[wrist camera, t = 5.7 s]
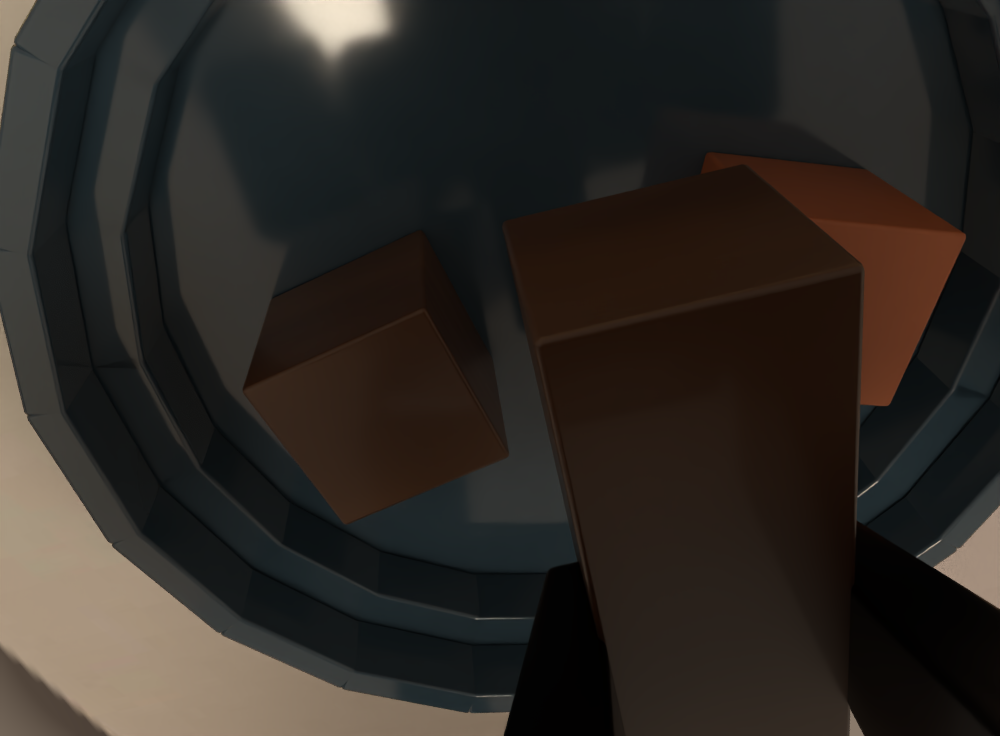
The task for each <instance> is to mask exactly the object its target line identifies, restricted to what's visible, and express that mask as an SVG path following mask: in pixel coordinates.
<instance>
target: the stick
mask: <svg viewBox="0 0 1000 736" xmlns="http://www.w3.org/2000/svg"><path fill="white" fill-rule="evenodd" d="M502 230H503V234H504V239H505V243H506V248H507V252H508V257H509V261H510V265H511V270H512V274H513V279H514V283H515V288H516V292H517V297H518V301H519V305H520V310H521V314H522V319H523V323H524V328H525V332H526V336H527V341H528V345H529V350H530V354H531V359H532V363H533V368H534V372H535V376H536V381H537V385H538V390H539V394H540V399H541V403H542V407H543V412H544V416H545V421H546V425H547V430H548V434H549V439H550V443H551V447H552V452H553V456H554V461H555V465H556V470H557V474H558V478H559V483H560V487H561V492H562V496H563V501H564V505H565V509H566V514H567V518H568V523H569V527H570V532H571V536H572V541H573V545H574V549H575V554H576V558H577V561H579V564H580V568H581V572H582V576H583V580H584V584H585V588H586V592H587V596H588V600H589V604H590V608H591V612H592V616H593V620H594V623H595V627H596V631H597V635H598V638H599V639H600V640H601V641H603V642H604V643H605V644H606V647H607V651H608V656H609V661H610V665H611V670H612V675H613V679H614V684H615V689H616V693H617V698H618V703H619V707H620V712H621V717H622V721H623V726H624V731H625V735H626V736H849V731H850V730H849V729H850V707H849V704H848V702H847V700H848V667H849V633H850V600H851V588H852V586H853V585H854V580H855V550H856V520H857V490H858V460H859V430H860V400H861V370H862V340H863V309H864V279H865V270H864V267H863V265H862V263H860V262H859V261H858V260H857V259H856V258H855V257H853V256H852V255H851V254H850V253H849V252H848V251H847V250H845V249H844V248H843V247H842V246H841V245H840V244H838V243H837V242H836V241H835V240H834V239H833V238H831V237H830V236H829V235H828V234H827V233H826V232H824V231H823V230H822V229H821V228H820V227H819V226H817V225H816V224H815V223H814V222H813V221H812V220H811V219H809V218H808V217H807V216H806V215H805V214H804V213H802V212H801V211H800V210H799V209H798V208H797V207H795V206H794V205H793V204H792V203H791V202H790V201H788V200H787V199H786V198H785V197H784V196H783V195H781V194H780V193H779V192H778V191H777V190H776V189H775V188H773V187H772V186H771V185H770V184H769V183H768V182H766V181H765V180H764V179H763V178H762V177H761V176H759V175H758V174H757V173H756V172H755V171H754V170H752V169H751V168H750V167H749V166H748V165H745V164H741V165H736V166H732V167H728V168H724V169H720V170H716V171H711V172H707V173H703V174H699V175H695V176H690V177H686V178H682V179H678V180H674V181H669V182H665V183H661V184H657V185H653V186H648V187H644V188H640V189H636V190H632V191H628V192H623V193H619V194H615V195H611V196H607V197H602V198H598V199H594V200H590V201H586V202H581V203H577V204H573V205H569V206H565V207H561V208H556V209H552V210H548V211H544V212H540V213H535V214H531V215H527V216H523V217H519V218H514V219H510V220H507V221H505V222H503V225H502Z"/></svg>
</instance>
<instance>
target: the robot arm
mask: <svg viewBox="0 0 1000 736" xmlns="http://www.w3.org/2000/svg"><path fill="white" fill-rule="evenodd" d="M847 702H848V704H849V707H850V709H851V711H852V713H853V715H854V717H855V719H856V721H857V723H858V725H859V727H860V729H861V730H862V732H863V734H864V736H1000V609H999V608H997V607H996V606H994V605H992V604H991V603H989V602H988V601H986V600H984V599H983V598H981V597H979V596H978V595H976V594H975V593H973V592H971V591H970V590H968V589H967V588H965V587H963V586H962V585H960V584H959V583H957V582H955V581H954V580H952V579H951V578H949V577H947V576H946V575H944V574H942V573H941V572H939V571H938V570H936V569H934V568H933V567H931V566H930V565H928V564H926V563H925V562H923V561H922V560H920V559H918V558H917V557H915V556H913V555H912V554H910V553H909V552H907V551H905V550H904V549H902V548H901V547H899V546H897V545H896V544H894V543H893V542H891V541H889V540H888V539H886V538H885V537H883V536H881V535H880V534H878V533H876V532H875V531H873V530H872V529H870V528H868V527H867V526H865V525H864V524H862V523H860V522H859V521H857V520H856V550H855V580H854V585H853V586H852V588H851V600H850V633H849V667H848V700H847ZM504 736H626V735H625V731H624V726H623V721H622V717H621V712H620V707H619V703H618V698H617V693H616V689H615V684H614V679H613V675H612V670H611V665H610V661H609V656H608V651H607V647H606V644H605V643H604V642H603V641H601V640H600V639H599V638H598V635H597V631H596V627H595V623H594V620H593V616H592V612H591V608H590V604H589V600H588V596H587V592H586V588H585V584H584V580H583V576H582V572H581V568H580V564H579V561H577V562H572V563H568V564H563V565H559V566H555V567H551V568H550V569H549V570H548V571H547V573H546V576H545V580H544V583H543V587H542V591H541V595H540V599H539V603H538V606H537V610H536V614H535V618H534V622H533V626H532V629H531V633H530V637H529V641H528V645H527V649H526V652H525V656H524V660H523V664H522V668H521V672H520V675H519V679H518V683H517V687H516V691H515V695H514V698H513V702H512V706H511V710H510V714H509V718H508V721H507V725H506V729H505V733H504Z"/></svg>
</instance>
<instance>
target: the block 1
mask: <svg viewBox="0 0 1000 736" xmlns="http://www.w3.org/2000/svg"><path fill="white" fill-rule="evenodd" d="M242 390H243V394H244V395H245V396H246V398H247V399H248V400H249V402H250V403H251V404H252V405H253V407H254V408H255V409H256V411H257V412H258V413H259V415H260V416H261V417H262V418H263V420H264V421H265V422H266V424H267V425H268V426H269V428H270V429H271V430H272V431H273V433H274V434H275V435H276V437H277V438H278V439H279V441H280V442H281V443H282V444H283V446H284V447H285V448H286V450H287V451H288V452H289V454H290V455H291V456H292V457H293V459H294V460H295V461H296V463H297V464H298V465H299V467H300V468H301V469H302V470H303V472H304V473H305V474H306V476H307V477H308V478H309V480H310V481H311V482H312V483H313V485H314V486H315V487H316V489H317V490H318V491H319V493H320V494H321V495H322V496H323V498H324V499H325V500H326V502H327V503H328V504H329V505H330V507H331V508H332V509H333V511H334V512H335V513H336V515H337V516H338V517H339V518H340V520H341V521H342V522H343V524H350V523H352V522H354V521H357V520H359V519H362V518H364V517H366V516H369V515H371V514H374V513H376V512H378V511H381V510H383V509H386V508H388V507H390V506H393V505H395V504H398V503H400V502H402V501H405V500H407V499H410V498H412V497H414V496H417V495H419V494H422V493H424V492H426V491H429V490H431V489H433V488H436V487H438V486H441V485H443V484H445V483H448V482H450V481H453V480H455V479H457V478H460V477H462V476H465V475H467V474H469V473H472V472H474V471H477V470H479V469H481V468H484V467H486V466H489V465H491V464H493V463H496V462H498V461H500V460H503V459H505V458H507V457H508V456H509V450H508V444H507V438H506V433H505V427H504V421H503V415H502V410H501V404H500V398H499V393H498V387H497V381H496V376H495V370H494V364H493V359H492V357H491V356H490V354H489V352H488V350H487V348H486V346H485V345H484V343H483V341H482V339H481V337H480V335H479V333H478V332H477V330H476V328H475V326H474V324H473V322H472V321H471V319H470V317H469V315H468V313H467V311H466V309H465V308H464V306H463V304H462V302H461V300H460V298H459V296H458V295H457V293H456V291H455V289H454V287H453V285H452V284H451V282H450V280H449V278H448V276H447V274H446V272H445V271H444V269H443V267H442V265H441V263H440V261H439V260H438V258H437V256H436V254H435V252H434V250H433V248H432V247H431V245H430V243H429V241H428V239H427V237H426V236H425V234H424V232H423V231H421V230H418V231H416V232H414V233H411V234H409V235H407V236H405V237H403V238H401V239H399V240H397V241H394V242H392V243H390V244H388V245H386V246H384V247H382V248H379V249H377V250H375V251H373V252H371V253H369V254H367V255H365V256H362V257H360V258H358V259H356V260H354V261H352V262H350V263H347V264H345V265H343V266H341V267H339V268H337V269H335V270H332V271H330V272H328V273H326V274H324V275H322V276H320V277H318V278H315V279H313V280H311V281H309V282H307V283H305V284H303V285H300V286H298V287H296V288H294V289H292V290H290V291H288V292H286V293H283V294H281V295H279V296H277V297H275V298H273V299H272V300H271V301H270V303H269V307H268V310H267V313H266V316H265V319H264V322H263V326H262V329H261V332H260V335H259V338H258V342H257V345H256V348H255V351H254V354H253V357H252V361H251V364H250V367H249V370H248V373H247V377H246V380H245V383H244V386H243V389H242Z"/></svg>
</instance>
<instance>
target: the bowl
mask: <svg viewBox="0 0 1000 736" xmlns="http://www.w3.org/2000/svg"><path fill="white" fill-rule="evenodd" d="M14 43H15V45H13V46H12V48H11V52H10V59H9V66H8V74H7V81H6V88H5V96H4V103H3V110H2V117H1V125H0V313H1V317H2V322H3V326H4V330H5V334H6V338H7V342H8V346H9V350H10V355H11V359H12V363H13V367H14V371H15V375H16V379H17V384H18V388H19V392H20V396H21V400H22V404H23V408H24V412H25V414H27V418H28V421H29V422H30V424H31V425H32V427H33V428H34V430H35V431H36V433H37V434H38V436H39V437H40V439H41V441H42V442H43V444H44V445H45V447H46V448H47V450H48V451H49V453H50V454H51V456H52V457H53V459H54V460H55V462H56V463H57V465H58V466H59V468H60V469H61V471H62V472H63V474H64V475H65V477H66V479H67V480H68V482H69V483H70V485H71V486H72V488H73V489H74V491H75V492H76V494H77V495H78V497H79V498H80V500H81V501H82V503H83V504H84V506H85V507H86V509H87V510H88V512H89V513H90V515H91V517H92V518H93V520H94V521H95V523H96V524H97V526H98V527H99V529H100V530H101V532H102V533H103V535H104V536H105V538H106V539H107V541H108V542H109V543H112V546H113V548H115V549H116V550H117V551H118V552H119V553H121V554H122V555H123V556H124V557H126V558H127V559H128V560H129V561H130V562H132V563H133V564H134V565H135V566H137V567H138V568H139V569H140V570H141V571H143V572H144V573H145V574H146V575H148V576H149V577H150V578H151V579H153V580H154V581H155V582H156V583H157V584H159V585H160V586H161V587H162V588H164V589H165V590H166V591H167V592H168V593H170V594H171V595H172V596H173V597H175V598H176V599H177V600H178V601H179V602H181V603H182V604H183V605H184V606H186V607H187V608H188V609H189V610H190V611H192V612H193V613H194V614H195V615H197V616H198V617H199V618H200V619H202V620H203V621H204V622H205V623H206V624H208V625H209V626H210V627H211V628H213V629H214V630H215V631H216V632H218V633H221V634H222V635H223V636H225V637H227V638H229V639H231V640H233V641H236V642H238V643H240V644H242V645H245V646H247V647H249V648H251V649H254V650H256V651H258V652H260V653H263V654H265V655H267V656H269V657H272V658H274V659H276V660H278V661H281V662H283V663H285V664H287V665H290V666H292V667H294V668H296V669H298V670H301V671H303V672H305V673H307V674H310V675H312V676H314V677H316V678H319V679H321V680H323V681H325V682H328V683H330V684H332V685H334V686H337V687H340V688H341V687H342V688H343V689H344V690H348V691H354V692H359V693H364V694H370V695H375V696H380V697H385V698H391V699H396V700H401V701H407V702H412V703H417V704H422V705H428V706H433V707H438V708H444V709H449V710H454V711H459V712H465V713H468V712H470V713H495V712H510V710H511V706H512V702H513V698H514V695H515V691H516V687H517V683H518V679H519V675H520V672H521V668H522V664H523V660H524V656H525V652H526V649H527V645H528V641H529V637H530V633H531V629H532V626H533V622H534V618H535V614H536V610H537V606H538V603H539V599H540V595H541V591H542V587H543V583H544V580H545V576H546V573H547V571H548V570H549V569H550V568H551V567H555V566H559V565H563V564H568V563H572V562H577V558H576V554H575V549H574V545H573V541H572V536H571V532H570V527H569V523H568V518H567V514H566V509H565V505H564V501H563V496H562V492H561V487H560V483H559V478H558V474H557V470H556V465H555V461H554V456H553V452H552V447H551V443H550V439H549V434H548V430H547V425H546V421H545V416H544V412H543V407H542V403H541V399H540V394H539V390H538V385H537V381H536V376H535V372H534V368H533V363H532V359H531V354H530V350H529V345H528V341H527V336H526V332H525V328H524V323H523V319H522V314H521V310H520V305H519V301H518V297H517V292H516V288H515V283H514V279H513V274H512V270H511V265H510V261H509V257H508V252H507V248H506V243H505V239H504V234H503V230H502V225H503V222H505V221H507V220H510V219H514V218H519V217H523V216H527V215H531V214H535V213H540V212H544V211H548V210H552V209H556V208H561V207H565V206H569V205H573V204H577V203H581V202H586V201H590V200H594V199H598V198H602V197H607V196H611V195H615V194H619V193H623V192H628V191H632V190H636V189H640V188H644V187H648V186H653V185H657V184H661V183H665V182H669V181H674V180H678V179H682V178H686V177H690V176H695V175H699V174H701V171H702V167H703V163H704V160H705V156H706V154H707V153H709V152H715V153H724V154H733V155H742V156H751V157H760V158H769V159H777V160H786V161H795V162H804V163H813V164H822V165H831V166H840V167H849V168H858V169H866V170H868V171H870V172H871V173H873V174H874V175H876V176H877V177H879V178H880V179H882V180H883V181H885V182H887V183H888V184H890V185H891V186H893V187H894V188H896V189H897V190H899V191H900V192H902V193H903V194H905V195H906V196H908V197H909V198H911V199H913V200H914V201H916V202H917V203H919V204H920V205H922V206H923V207H925V208H926V209H928V210H929V211H931V212H932V213H934V214H935V215H937V216H939V217H940V218H942V219H943V220H945V221H946V222H948V223H949V224H951V225H952V226H954V227H955V228H957V229H958V230H960V231H961V232H963V233H964V234H965V235H966V239H965V242H964V244H963V246H962V248H961V250H960V253H959V255H958V257H957V259H956V261H955V263H954V266H953V268H952V270H951V272H950V274H949V276H948V279H947V281H946V283H945V285H944V287H943V290H942V292H941V294H940V296H939V298H938V300H937V303H936V305H935V307H934V309H933V311H932V314H931V316H930V318H929V320H928V322H927V324H926V327H925V329H924V331H923V333H922V335H921V337H920V340H919V342H918V344H917V346H916V348H915V351H914V353H913V355H912V357H911V359H910V361H909V364H908V366H907V368H906V370H905V372H904V374H903V377H902V379H901V381H900V383H899V385H898V388H897V390H896V392H895V394H894V396H893V398H892V401H891V403H890V404H889V405H888V406H875V405H860V430H859V460H858V490H857V521H859V522H860V523H862V524H864V525H865V526H867V527H868V528H870V529H872V530H873V531H875V532H876V533H878V534H880V535H881V536H883V537H885V538H886V539H888V540H889V541H891V542H893V543H894V544H896V545H897V546H899V547H901V548H902V549H904V550H905V551H907V552H909V553H910V554H912V555H913V556H915V557H917V558H918V559H920V560H922V561H923V562H925V563H926V564H928V565H930V566H931V567H934V566H936V565H937V564H939V563H940V562H942V561H943V560H945V559H946V558H947V557H949V556H950V555H952V554H953V553H955V552H956V550H957V549H956V548H960V547H962V546H963V545H964V543H965V542H966V541H967V540H968V539H969V538H970V537H971V536H972V535H973V534H974V533H975V532H976V531H977V530H978V528H979V527H980V526H981V525H982V524H983V523H984V522H985V521H986V520H987V519H988V518H989V517H990V516H991V515H992V514H993V512H994V511H995V510H996V509H997V508H998V507H999V506H1000V0H36V1H35V3H34V5H33V7H32V8H31V10H30V12H29V14H28V15H27V17H26V19H25V21H24V22H23V24H22V26H21V27H20V29H19V31H18V33H17V34H16V36H15V40H14ZM418 230H421V231H423V232H424V234H425V236H426V237H427V239H428V241H429V243H430V245H431V247H432V248H433V250H434V252H435V254H436V256H437V258H438V260H439V261H440V263H441V265H442V267H443V269H444V271H445V272H446V274H447V276H448V278H449V280H450V282H451V284H452V285H453V287H454V289H455V291H456V293H457V295H458V296H459V298H460V300H461V302H462V304H463V306H464V308H465V309H466V311H467V313H468V315H469V317H470V319H471V321H472V322H473V324H474V326H475V328H476V330H477V332H478V333H479V335H480V337H481V339H482V341H483V343H484V345H485V346H486V348H487V350H488V352H489V354H490V356H491V357H492V359H493V364H494V370H495V376H496V381H497V387H498V393H499V398H500V404H501V410H502V415H503V421H504V427H505V433H506V438H507V444H508V450H509V456H508V457H507V458H505V459H503V460H500V461H498V462H496V463H493V464H491V465H489V466H486V467H484V468H481V469H479V470H477V471H474V472H472V473H469V474H467V475H465V476H462V477H460V478H457V479H455V480H453V481H450V482H448V483H445V484H443V485H441V486H438V487H436V488H433V489H431V490H429V491H426V492H424V493H422V494H419V495H417V496H414V497H412V498H410V499H407V500H405V501H402V502H400V503H398V504H395V505H393V506H390V507H388V508H386V509H383V510H381V511H378V512H376V513H374V514H371V515H369V516H366V517H364V518H362V519H359V520H357V521H354V522H352V523H350V524H343V522H342V521H341V520H340V518H339V517H338V516H337V515H336V513H335V512H334V511H333V509H332V508H331V507H330V505H329V504H328V503H327V502H326V500H325V499H324V498H323V496H322V495H321V494H320V493H319V491H318V490H317V489H316V487H315V486H314V485H313V483H312V482H311V481H310V480H309V478H308V477H307V476H306V474H305V473H304V472H303V470H302V469H301V468H300V467H299V465H298V464H297V463H296V461H295V460H294V459H293V457H292V456H291V455H290V454H289V452H288V451H287V450H286V448H285V447H284V446H283V444H282V443H281V442H280V441H279V439H278V438H277V437H276V435H275V434H274V433H273V431H272V430H271V429H270V428H269V426H268V425H267V424H266V422H265V421H264V420H263V418H262V417H261V416H260V415H259V413H258V412H257V411H256V409H255V408H254V407H253V405H252V404H251V403H250V402H249V400H248V399H247V398H246V396H245V395H244V394H243V390H242V389H243V386H244V383H245V380H246V377H247V373H248V370H249V367H250V364H251V361H252V357H253V354H254V351H255V348H256V345H257V342H258V338H259V335H260V332H261V329H262V326H263V322H264V319H265V316H266V313H267V310H268V307H269V303H270V301H271V300H272V299H273V298H275V297H277V296H279V295H281V294H283V293H286V292H288V291H290V290H292V289H294V288H296V287H298V286H300V285H303V284H305V283H307V282H309V281H311V280H313V279H315V278H318V277H320V276H322V275H324V274H326V273H328V272H330V271H332V270H335V269H337V268H339V267H341V266H343V265H345V264H347V263H350V262H352V261H354V260H356V259H358V258H360V257H362V256H365V255H367V254H369V253H371V252H373V251H375V250H377V249H379V248H382V247H384V246H386V245H388V244H390V243H392V242H394V241H397V240H399V239H401V238H403V237H405V236H407V235H409V234H411V233H414V232H416V231H418Z"/></svg>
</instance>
